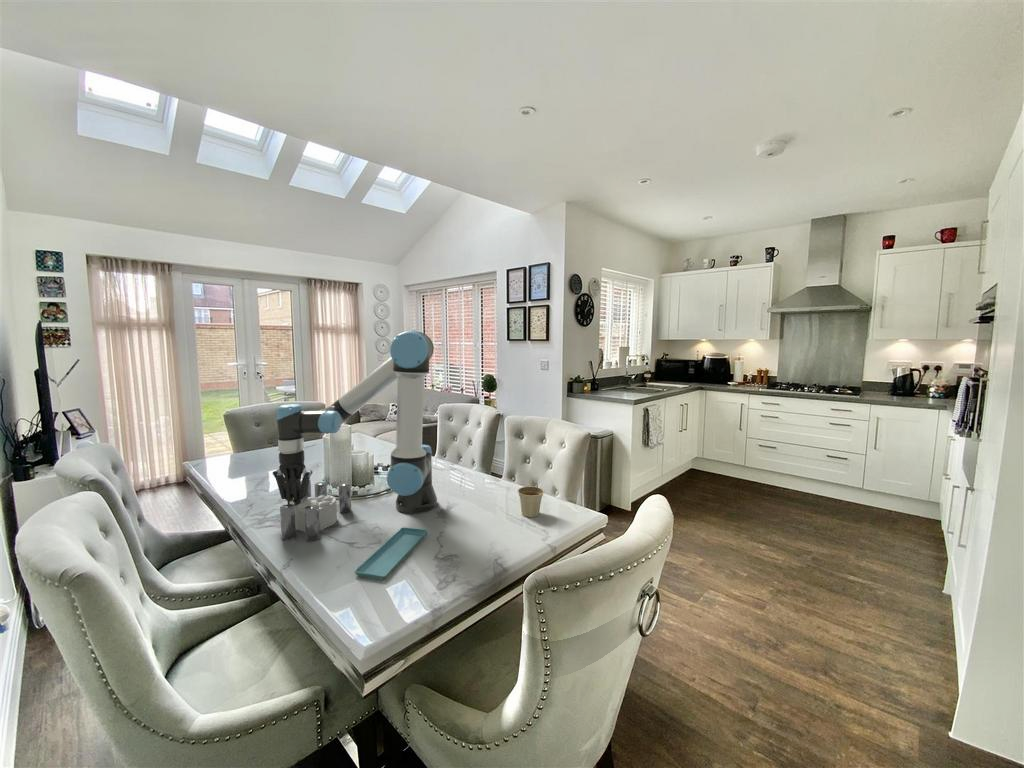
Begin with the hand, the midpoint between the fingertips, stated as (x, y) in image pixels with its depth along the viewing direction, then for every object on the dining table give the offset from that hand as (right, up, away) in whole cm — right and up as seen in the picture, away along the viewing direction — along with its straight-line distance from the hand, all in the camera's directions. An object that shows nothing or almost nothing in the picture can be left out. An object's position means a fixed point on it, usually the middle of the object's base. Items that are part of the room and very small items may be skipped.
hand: (295, 518), depth 141 cm
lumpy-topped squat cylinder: (+8, -2, -1) cm, 9 cm away
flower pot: (+81, -1, +7) cm, 81 cm away
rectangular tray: (+40, -4, -21) cm, 45 cm away
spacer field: (+5, -1, 0) cm, 5 cm away
